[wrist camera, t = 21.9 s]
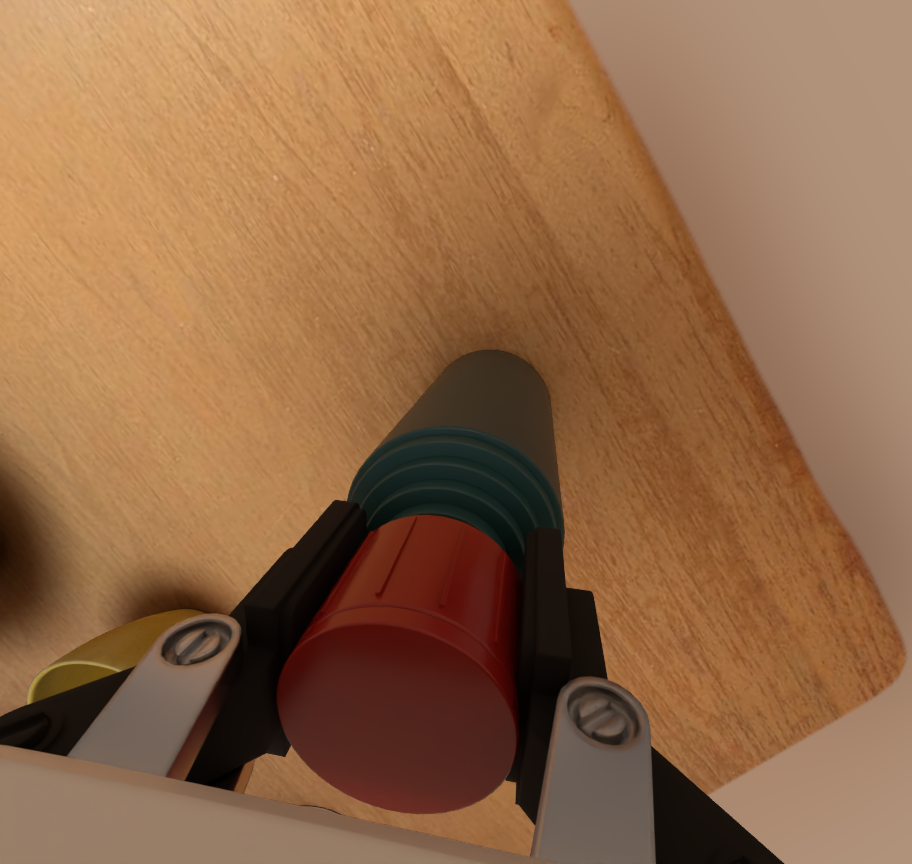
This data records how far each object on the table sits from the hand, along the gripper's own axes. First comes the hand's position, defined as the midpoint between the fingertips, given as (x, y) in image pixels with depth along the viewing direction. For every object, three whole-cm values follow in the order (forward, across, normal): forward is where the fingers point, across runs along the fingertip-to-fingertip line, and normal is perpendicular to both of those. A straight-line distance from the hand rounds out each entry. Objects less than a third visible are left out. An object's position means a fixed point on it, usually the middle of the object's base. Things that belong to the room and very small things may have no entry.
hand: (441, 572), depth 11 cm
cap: (-1, 0, 0) cm, 1 cm away
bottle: (+14, 0, 0) cm, 14 cm away
